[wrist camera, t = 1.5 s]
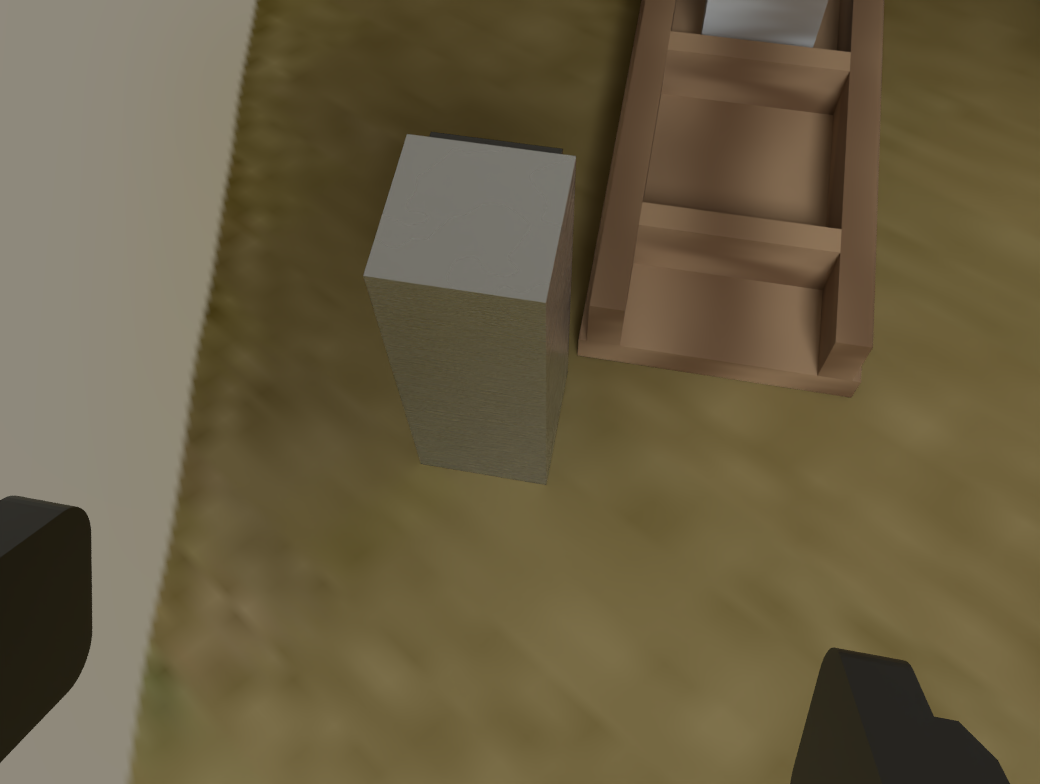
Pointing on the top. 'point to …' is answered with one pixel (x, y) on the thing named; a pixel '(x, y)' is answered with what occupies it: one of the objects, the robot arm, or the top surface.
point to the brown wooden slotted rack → (744, 194)
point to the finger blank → (477, 299)
